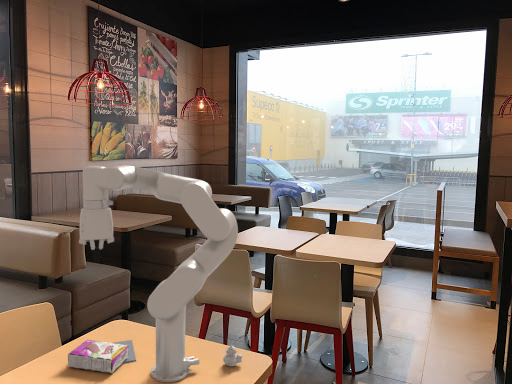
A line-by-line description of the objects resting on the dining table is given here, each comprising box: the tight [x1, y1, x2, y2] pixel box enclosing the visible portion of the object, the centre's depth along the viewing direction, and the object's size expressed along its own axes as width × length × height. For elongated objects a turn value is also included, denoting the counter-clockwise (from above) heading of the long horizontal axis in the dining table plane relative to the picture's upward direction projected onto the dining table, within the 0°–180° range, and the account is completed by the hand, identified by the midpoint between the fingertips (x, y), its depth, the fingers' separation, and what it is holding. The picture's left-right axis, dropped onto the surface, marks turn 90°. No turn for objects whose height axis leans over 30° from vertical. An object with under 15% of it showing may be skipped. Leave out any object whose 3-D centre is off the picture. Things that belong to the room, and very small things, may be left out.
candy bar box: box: [67, 339, 129, 374], centre depth 146 cm, size 11×5×16 cm
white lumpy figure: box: [222, 342, 243, 367], centre depth 147 cm, size 5×7×8 cm
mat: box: [112, 339, 137, 364], centre depth 153 cm, size 17×16×1 cm
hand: (97, 260), depth 139 cm, fingers closed
